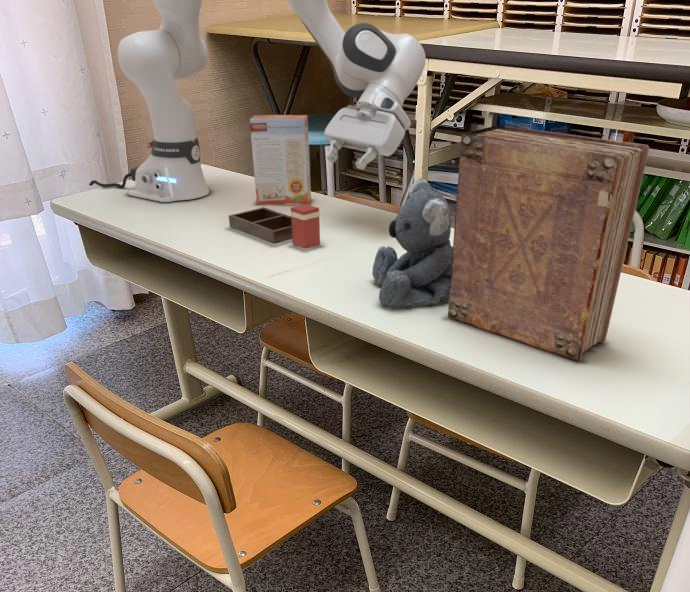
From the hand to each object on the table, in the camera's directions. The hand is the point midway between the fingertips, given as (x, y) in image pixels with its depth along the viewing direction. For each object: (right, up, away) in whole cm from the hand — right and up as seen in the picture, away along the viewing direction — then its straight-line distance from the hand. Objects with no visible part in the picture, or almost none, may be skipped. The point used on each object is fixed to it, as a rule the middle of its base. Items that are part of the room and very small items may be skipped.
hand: (344, 163), depth 152 cm
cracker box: (-16, +4, +33) cm, 37 cm away
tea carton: (-8, -17, +3) cm, 19 cm away
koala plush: (+15, -33, -20) cm, 41 cm away
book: (+30, -43, -34) cm, 63 cm away
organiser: (-18, -11, +11) cm, 24 cm away
